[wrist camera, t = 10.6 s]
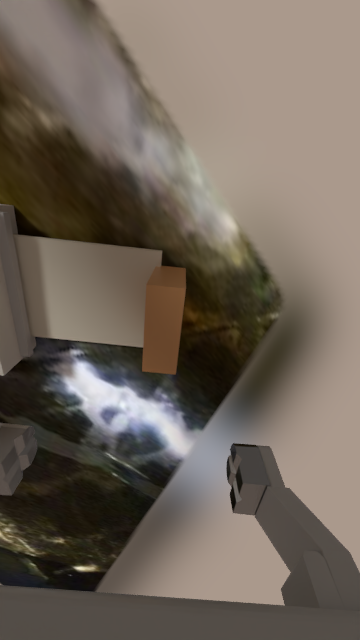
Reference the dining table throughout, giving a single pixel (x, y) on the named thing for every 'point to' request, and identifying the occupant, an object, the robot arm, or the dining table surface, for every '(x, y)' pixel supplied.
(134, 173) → the dining table surface
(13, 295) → the block
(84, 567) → the dining table surface
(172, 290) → the tan-tipped white bar
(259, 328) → the dining table surface
